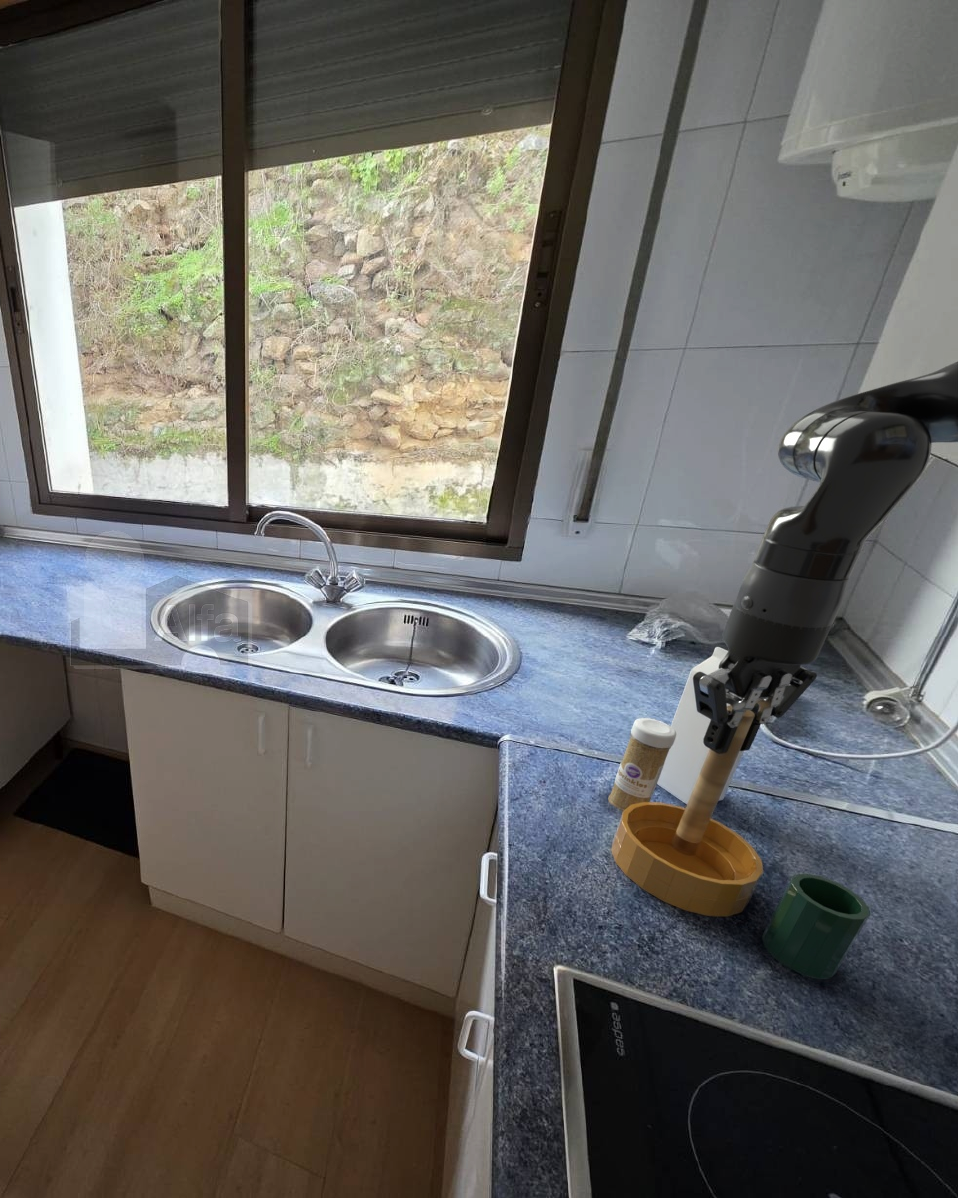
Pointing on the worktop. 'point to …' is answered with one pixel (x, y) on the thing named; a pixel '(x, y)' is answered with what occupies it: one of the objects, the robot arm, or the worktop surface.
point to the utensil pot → (815, 925)
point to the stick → (708, 791)
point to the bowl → (686, 861)
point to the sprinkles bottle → (642, 762)
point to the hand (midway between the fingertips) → (725, 747)
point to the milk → (691, 739)
